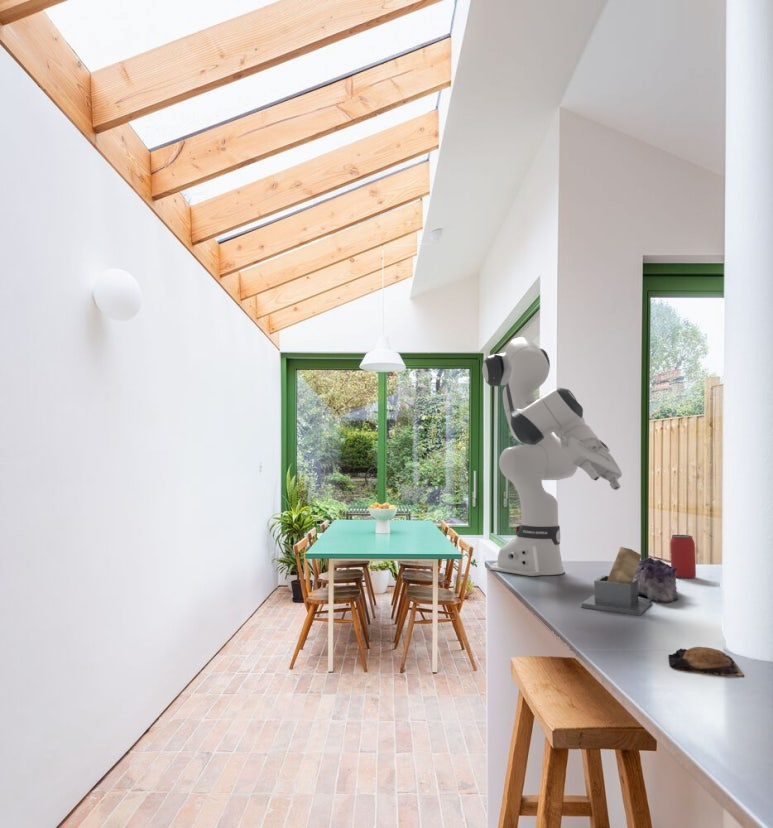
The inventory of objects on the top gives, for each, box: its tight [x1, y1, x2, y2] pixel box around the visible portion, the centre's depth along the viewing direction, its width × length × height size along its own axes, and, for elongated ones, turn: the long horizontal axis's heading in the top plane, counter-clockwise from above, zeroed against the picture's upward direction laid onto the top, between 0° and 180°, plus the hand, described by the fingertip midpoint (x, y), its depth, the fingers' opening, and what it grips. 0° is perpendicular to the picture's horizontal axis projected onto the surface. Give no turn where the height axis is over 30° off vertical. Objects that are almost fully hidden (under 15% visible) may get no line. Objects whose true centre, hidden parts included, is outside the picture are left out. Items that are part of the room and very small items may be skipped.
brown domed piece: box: [668, 646, 745, 678], centre depth 101 cm, size 11×9×4 cm
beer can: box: [669, 534, 697, 580], centre depth 178 cm, size 7×7×12 cm
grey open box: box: [581, 575, 653, 616], centre depth 143 cm, size 13×13×6 cm
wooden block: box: [607, 546, 643, 584], centre depth 144 cm, size 4×4×12 cm
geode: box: [633, 556, 679, 604], centre depth 155 cm, size 20×12×10 cm, turn 169°
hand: (606, 483), depth 152 cm, fingers open, 8 cm apart
